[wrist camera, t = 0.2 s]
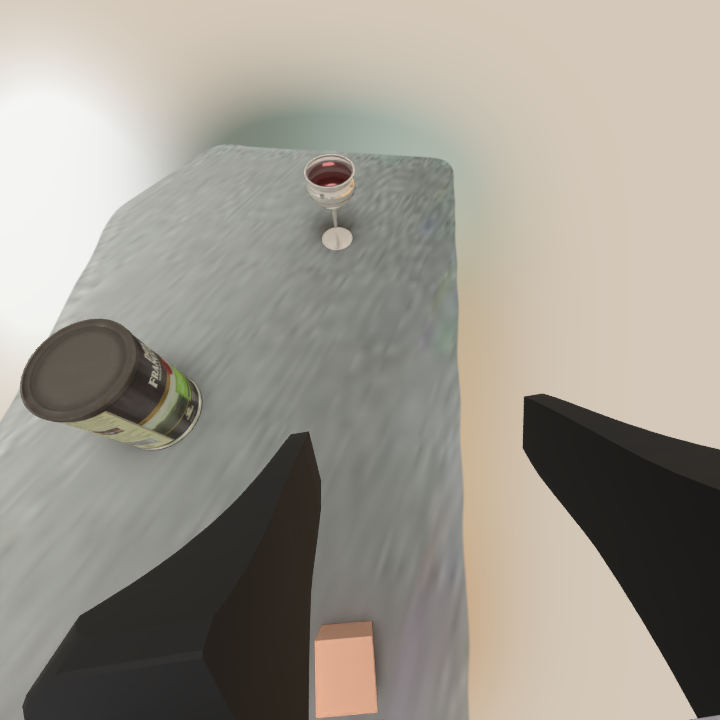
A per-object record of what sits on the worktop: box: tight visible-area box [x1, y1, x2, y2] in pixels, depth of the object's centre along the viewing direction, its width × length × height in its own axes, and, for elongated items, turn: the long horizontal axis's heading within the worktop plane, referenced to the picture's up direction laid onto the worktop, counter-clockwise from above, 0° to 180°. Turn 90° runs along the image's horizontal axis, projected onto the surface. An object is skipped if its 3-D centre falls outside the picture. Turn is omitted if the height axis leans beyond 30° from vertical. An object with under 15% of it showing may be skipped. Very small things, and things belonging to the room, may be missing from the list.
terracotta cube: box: [315, 621, 378, 718], centre depth 31 cm, size 5×5×5 cm
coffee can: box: [20, 319, 202, 450], centre depth 38 cm, size 10×10×14 cm
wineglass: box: [304, 154, 356, 250], centre depth 50 cm, size 7×7×12 cm
